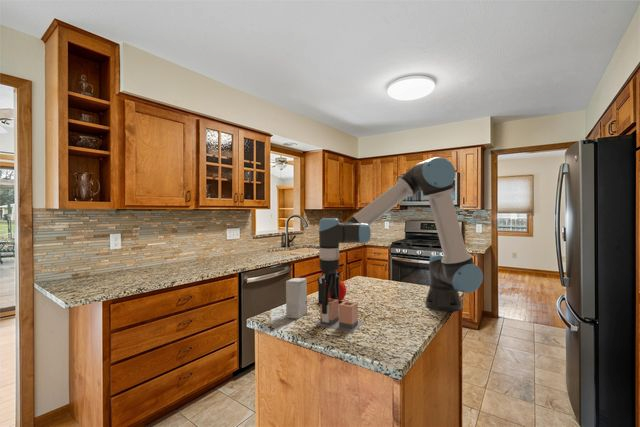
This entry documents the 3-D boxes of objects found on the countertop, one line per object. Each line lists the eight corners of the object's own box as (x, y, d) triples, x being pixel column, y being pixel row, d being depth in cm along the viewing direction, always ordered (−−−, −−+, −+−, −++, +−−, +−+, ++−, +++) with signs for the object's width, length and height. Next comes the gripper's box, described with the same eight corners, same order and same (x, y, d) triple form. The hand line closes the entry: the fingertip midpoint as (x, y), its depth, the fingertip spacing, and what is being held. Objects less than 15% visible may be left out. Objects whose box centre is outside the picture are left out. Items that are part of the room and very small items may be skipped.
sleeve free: (338, 320, 119) (338, 299, 119) (332, 324, 114) (332, 303, 114) (327, 318, 121) (326, 297, 121) (320, 322, 117) (320, 301, 117)
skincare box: (298, 319, 122) (298, 282, 122) (285, 317, 124) (285, 280, 124) (307, 313, 130) (307, 277, 130) (295, 311, 132) (294, 276, 132)
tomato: (323, 297, 153) (323, 276, 153) (346, 297, 152) (346, 277, 152) (321, 304, 141) (320, 282, 141) (346, 305, 140) (346, 282, 140)
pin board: (364, 324, 116) (364, 309, 116) (352, 334, 107) (351, 318, 107) (327, 316, 125) (327, 303, 125) (313, 325, 115) (312, 310, 115)
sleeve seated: (357, 324, 115) (357, 302, 115) (351, 329, 110) (351, 306, 110) (345, 321, 117) (345, 300, 117) (339, 326, 113) (338, 304, 113)
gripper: (332, 255, 127) (332, 311, 128) (307, 261, 112) (308, 325, 112) (348, 256, 124) (348, 314, 124) (325, 263, 108) (326, 329, 108)
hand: (329, 319), depth 118 cm, fingers closed on sleeve free, 5 cm apart
